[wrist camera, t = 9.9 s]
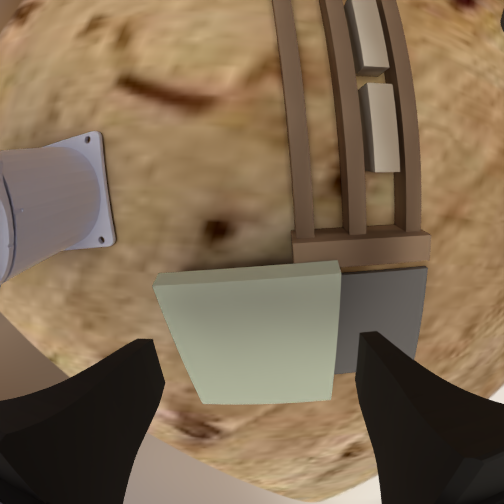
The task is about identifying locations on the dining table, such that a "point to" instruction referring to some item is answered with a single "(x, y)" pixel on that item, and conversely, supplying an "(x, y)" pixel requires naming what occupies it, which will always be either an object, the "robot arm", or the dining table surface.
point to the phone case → (502, 21)
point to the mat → (379, 310)
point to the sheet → (255, 330)
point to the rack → (352, 147)
